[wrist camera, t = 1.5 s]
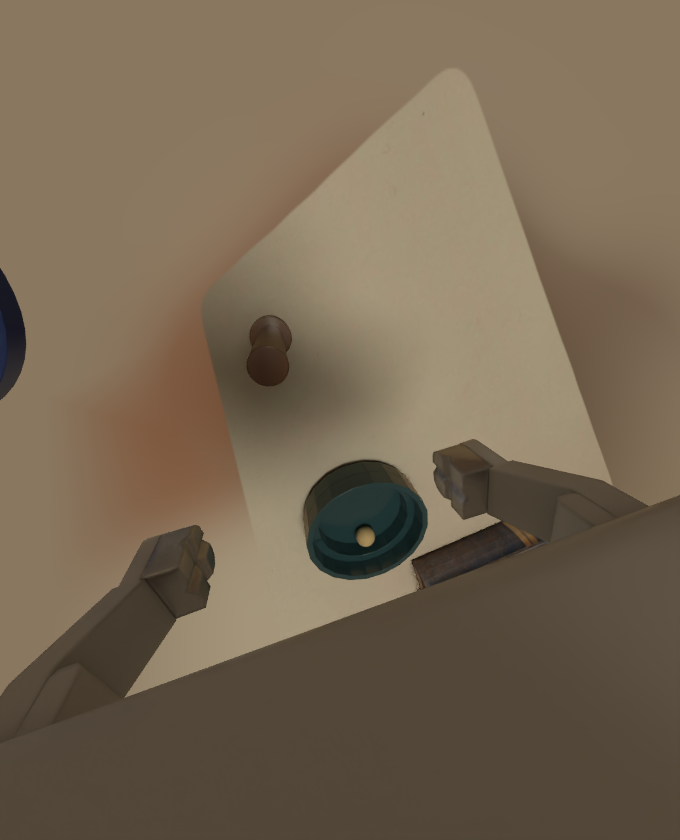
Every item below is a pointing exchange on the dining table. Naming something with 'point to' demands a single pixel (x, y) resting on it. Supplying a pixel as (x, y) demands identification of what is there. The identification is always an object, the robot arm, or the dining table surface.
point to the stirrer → (269, 351)
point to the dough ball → (365, 536)
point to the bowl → (363, 520)
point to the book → (473, 553)
